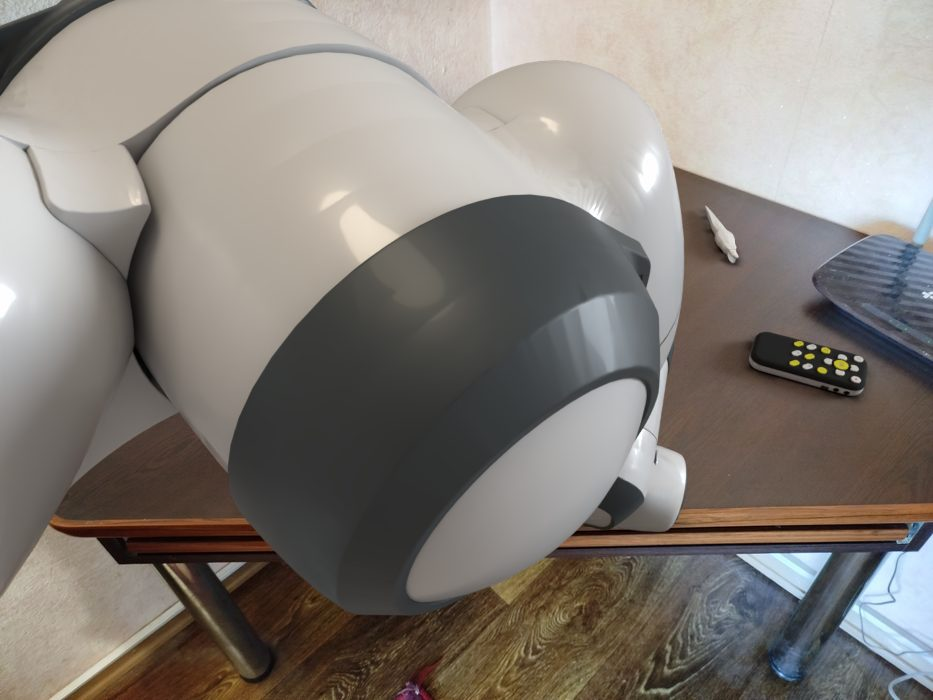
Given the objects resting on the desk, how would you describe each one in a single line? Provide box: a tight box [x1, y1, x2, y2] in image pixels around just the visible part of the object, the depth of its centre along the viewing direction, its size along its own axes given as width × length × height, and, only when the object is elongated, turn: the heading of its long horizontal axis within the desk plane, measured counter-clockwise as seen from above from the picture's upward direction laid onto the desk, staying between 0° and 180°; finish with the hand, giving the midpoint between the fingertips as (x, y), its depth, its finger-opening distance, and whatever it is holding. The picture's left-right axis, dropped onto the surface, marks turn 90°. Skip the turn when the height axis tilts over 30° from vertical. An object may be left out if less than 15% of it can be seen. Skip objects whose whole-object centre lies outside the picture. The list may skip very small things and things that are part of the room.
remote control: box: [748, 331, 868, 396], centre depth 78 cm, size 6×13×2 cm, turn 62°
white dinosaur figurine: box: [704, 205, 739, 264], centre depth 99 cm, size 15×3×2 cm, turn 2°
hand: (382, 430), depth 66 cm, fingers open, 8 cm apart
